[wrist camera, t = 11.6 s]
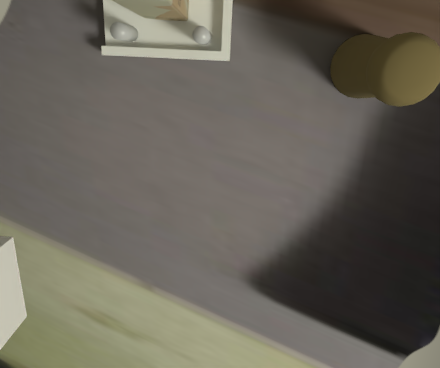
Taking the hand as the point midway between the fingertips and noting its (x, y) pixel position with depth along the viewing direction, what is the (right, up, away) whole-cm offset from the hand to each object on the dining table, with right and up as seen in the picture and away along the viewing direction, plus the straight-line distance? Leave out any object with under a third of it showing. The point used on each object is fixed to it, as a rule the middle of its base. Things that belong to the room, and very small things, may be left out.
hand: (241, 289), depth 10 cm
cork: (+13, +15, +25) cm, 32 cm away
